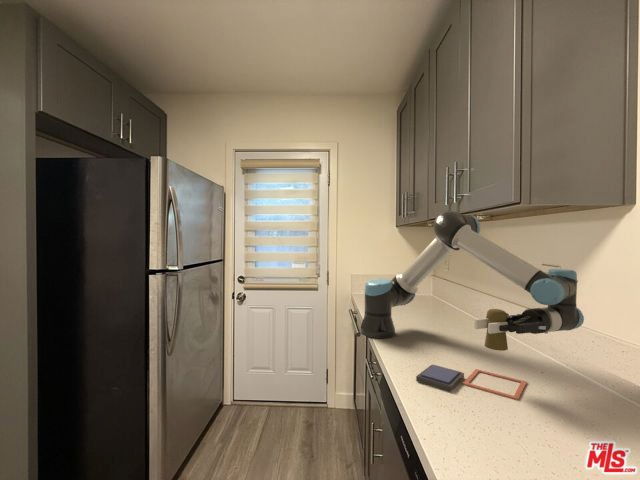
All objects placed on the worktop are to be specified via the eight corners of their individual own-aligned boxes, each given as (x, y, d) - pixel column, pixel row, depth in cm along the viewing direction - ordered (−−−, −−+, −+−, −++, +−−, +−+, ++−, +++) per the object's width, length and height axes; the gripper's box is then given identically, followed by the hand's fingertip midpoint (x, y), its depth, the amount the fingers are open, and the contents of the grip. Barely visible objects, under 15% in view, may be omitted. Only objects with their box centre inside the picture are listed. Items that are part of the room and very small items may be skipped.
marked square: (475, 370, 107) (475, 368, 107) (526, 382, 98) (526, 381, 98) (462, 384, 96) (462, 383, 96) (518, 400, 87) (518, 398, 87)
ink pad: (431, 369, 107) (431, 362, 107) (464, 378, 100) (464, 371, 100) (416, 381, 97) (416, 374, 97) (450, 391, 91) (451, 384, 91)
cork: (511, 351, 93) (511, 312, 93) (487, 349, 94) (488, 311, 94) (503, 344, 99) (504, 307, 99) (481, 343, 100) (482, 306, 100)
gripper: (568, 340, 95) (508, 349, 87) (514, 325, 111) (459, 331, 103) (569, 314, 95) (508, 320, 87) (515, 303, 111) (460, 307, 103)
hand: (482, 326), depth 95 cm, fingers closed on cork, 4 cm apart
